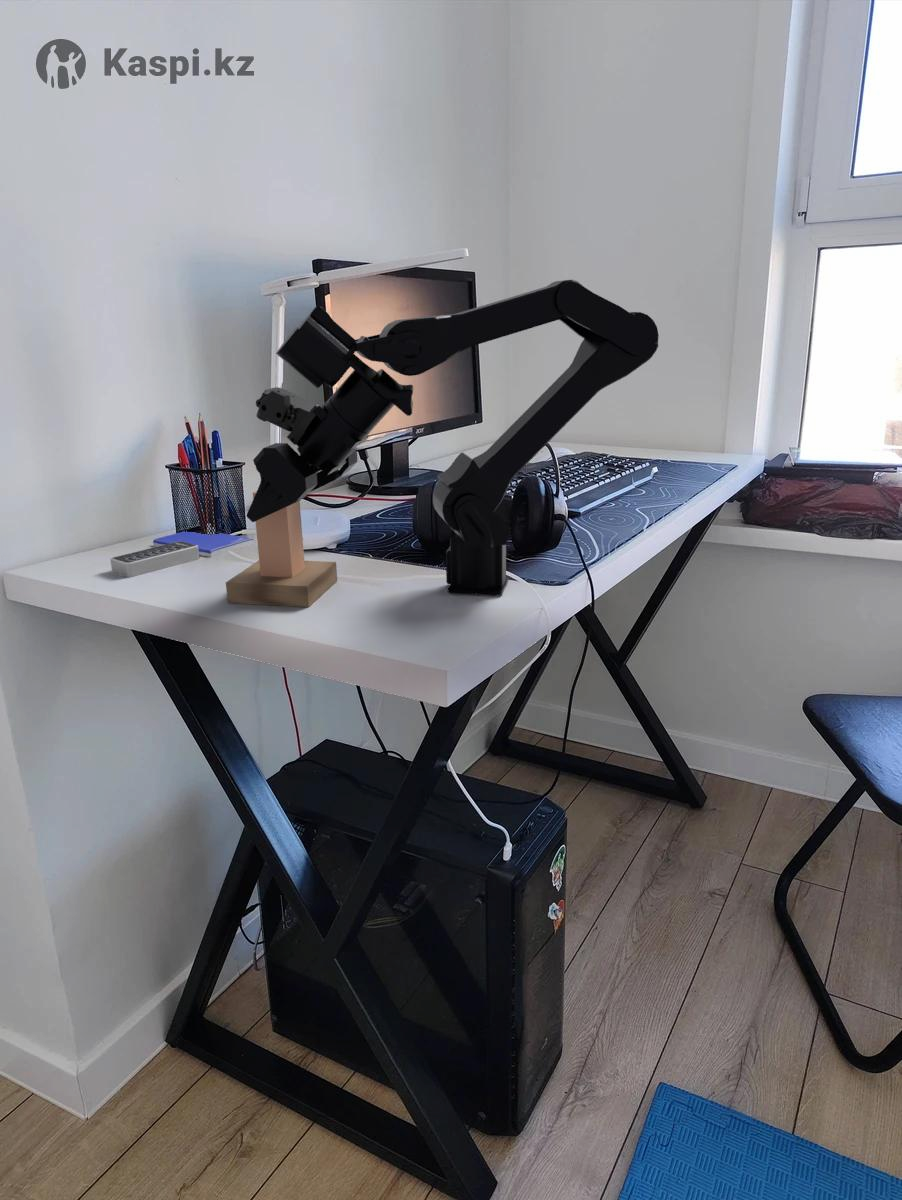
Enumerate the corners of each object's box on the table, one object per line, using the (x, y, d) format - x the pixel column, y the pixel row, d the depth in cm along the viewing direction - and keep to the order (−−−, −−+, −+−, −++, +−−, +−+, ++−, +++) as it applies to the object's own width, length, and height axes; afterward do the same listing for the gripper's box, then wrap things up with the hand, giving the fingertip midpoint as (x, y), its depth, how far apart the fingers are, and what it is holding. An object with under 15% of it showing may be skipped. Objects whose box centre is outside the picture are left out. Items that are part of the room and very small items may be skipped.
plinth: (337, 581, 107) (336, 561, 106) (308, 607, 98) (307, 586, 97) (262, 577, 109) (261, 558, 108) (227, 602, 100) (225, 582, 99)
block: (304, 567, 104) (298, 486, 101) (292, 577, 100) (285, 493, 97) (274, 566, 105) (266, 485, 102) (260, 575, 101) (252, 492, 98)
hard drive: (253, 537, 125) (196, 527, 132) (210, 550, 119) (152, 539, 125) (254, 547, 126) (197, 537, 132) (211, 561, 119) (153, 549, 126)
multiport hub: (111, 574, 113) (108, 558, 112) (182, 556, 121) (180, 540, 120) (129, 580, 110) (127, 563, 110) (201, 561, 118) (199, 545, 118)
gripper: (326, 357, 103) (249, 448, 108) (263, 367, 85) (176, 475, 91) (392, 424, 104) (313, 510, 109) (343, 447, 86) (252, 549, 92)
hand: (266, 509), depth 100 cm, fingers open, 9 cm apart
